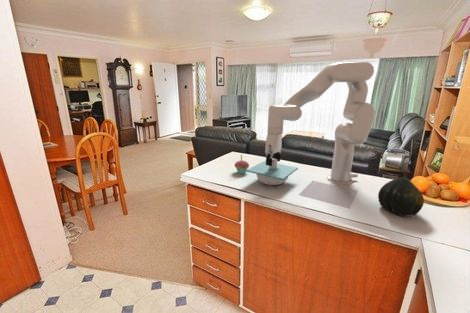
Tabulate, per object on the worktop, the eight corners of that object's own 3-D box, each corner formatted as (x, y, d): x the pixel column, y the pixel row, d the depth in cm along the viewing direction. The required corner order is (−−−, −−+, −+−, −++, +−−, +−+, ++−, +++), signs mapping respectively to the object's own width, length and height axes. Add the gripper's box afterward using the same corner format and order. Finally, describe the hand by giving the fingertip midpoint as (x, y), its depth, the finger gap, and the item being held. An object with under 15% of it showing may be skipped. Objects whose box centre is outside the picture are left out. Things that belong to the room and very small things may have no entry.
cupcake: (247, 175, 134) (248, 155, 130) (233, 174, 135) (233, 154, 132) (249, 170, 142) (250, 151, 138) (235, 169, 143) (236, 150, 140)
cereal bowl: (249, 181, 125) (249, 169, 123) (269, 174, 135) (270, 163, 133) (274, 192, 113) (275, 178, 111) (294, 183, 123) (295, 171, 121)
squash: (395, 209, 86) (423, 179, 86) (365, 194, 100) (388, 167, 100) (413, 229, 91) (439, 200, 91) (382, 211, 105) (404, 186, 105)
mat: (312, 181, 127) (312, 180, 126) (357, 191, 115) (357, 190, 115) (298, 195, 109) (298, 194, 109) (349, 209, 97) (349, 208, 97)
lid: (264, 162, 135) (264, 152, 134) (297, 169, 125) (298, 158, 123) (246, 171, 119) (246, 160, 118) (283, 180, 109) (284, 168, 107)
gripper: (275, 127, 125) (273, 158, 130) (260, 131, 112) (258, 165, 116) (288, 129, 121) (286, 160, 126) (274, 133, 107) (272, 168, 112)
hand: (273, 163), depth 121 cm, fingers open, 9 cm apart
